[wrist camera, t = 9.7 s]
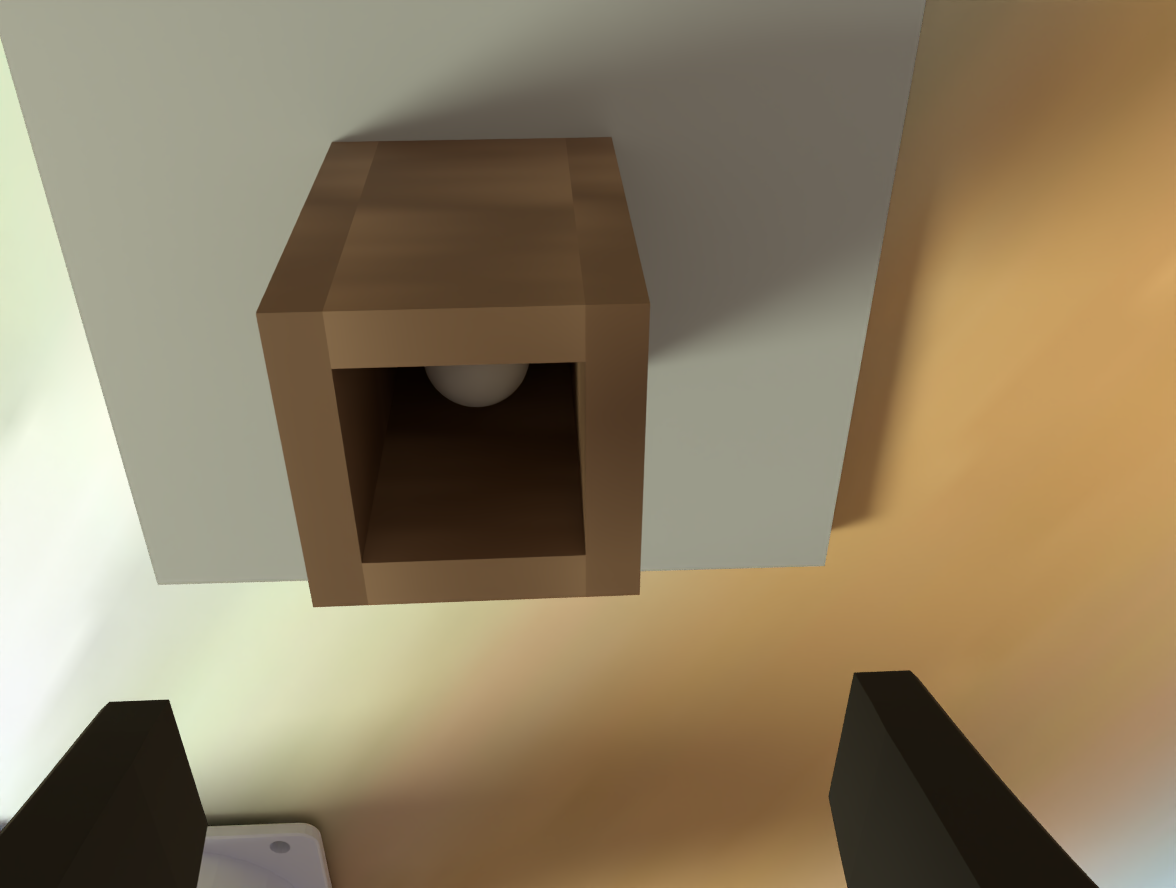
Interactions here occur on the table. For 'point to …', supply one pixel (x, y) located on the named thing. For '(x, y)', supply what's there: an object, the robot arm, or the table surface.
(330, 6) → the pin base
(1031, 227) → the table surface
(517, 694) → the table surface
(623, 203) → the hollow wooden block
